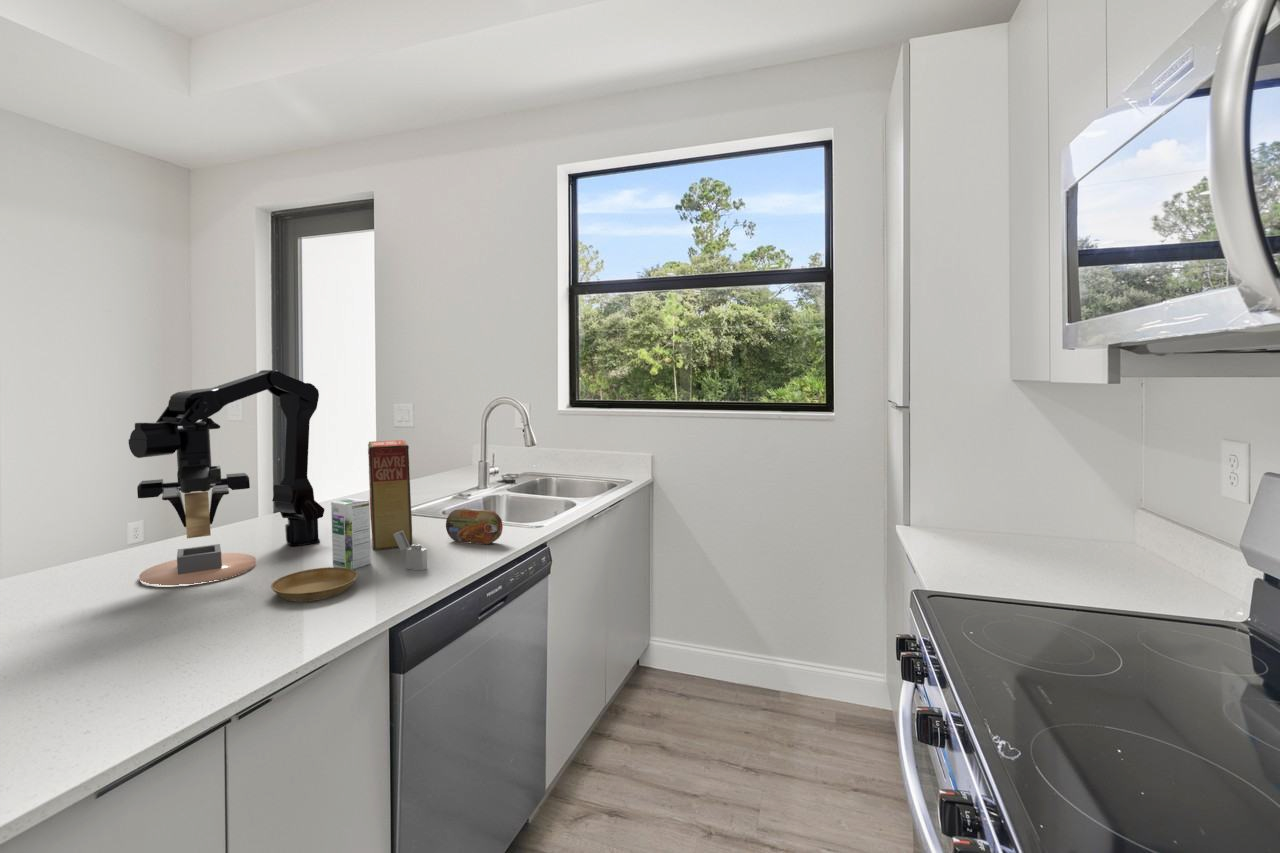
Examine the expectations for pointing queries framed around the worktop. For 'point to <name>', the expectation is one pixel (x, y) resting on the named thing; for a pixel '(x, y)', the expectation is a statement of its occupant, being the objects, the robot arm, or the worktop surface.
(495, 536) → the tin
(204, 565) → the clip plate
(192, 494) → the oak peg
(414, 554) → the lighter
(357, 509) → the syrup box
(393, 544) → the food packaging
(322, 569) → the plant saucer
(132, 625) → the worktop surface
